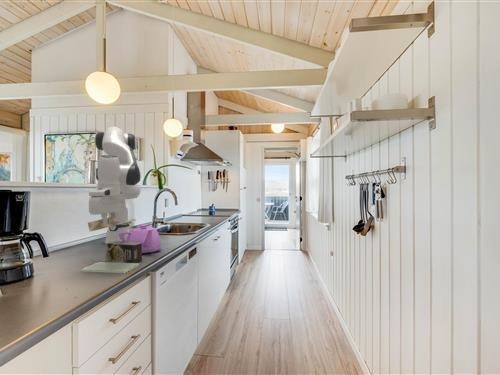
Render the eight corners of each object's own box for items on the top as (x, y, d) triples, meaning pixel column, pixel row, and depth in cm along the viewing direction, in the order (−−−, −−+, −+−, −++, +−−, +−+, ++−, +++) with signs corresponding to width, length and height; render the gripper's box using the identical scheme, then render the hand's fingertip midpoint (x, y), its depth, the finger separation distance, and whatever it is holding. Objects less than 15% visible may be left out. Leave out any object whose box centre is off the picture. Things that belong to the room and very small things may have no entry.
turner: (84, 232, 112) (82, 223, 112) (98, 229, 119) (96, 221, 120) (124, 222, 109) (122, 213, 109) (135, 220, 117) (133, 211, 117)
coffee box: (104, 243, 124) (132, 245, 120) (115, 240, 130) (142, 242, 126) (105, 262, 124) (132, 264, 119) (115, 258, 130) (142, 261, 126)
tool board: (98, 264, 121) (98, 262, 121) (139, 265, 119) (139, 263, 119) (80, 271, 110) (80, 269, 110) (125, 273, 108) (125, 270, 108)
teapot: (115, 252, 144) (115, 224, 144) (154, 246, 157) (154, 221, 157) (124, 261, 126) (124, 230, 126) (167, 254, 138) (167, 226, 138)
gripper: (116, 191, 125) (116, 220, 125) (85, 191, 105) (85, 226, 105) (129, 191, 124) (129, 220, 124) (100, 191, 104) (100, 226, 104)
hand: (109, 223), depth 114 cm, fingers closed on turner, 3 cm apart
